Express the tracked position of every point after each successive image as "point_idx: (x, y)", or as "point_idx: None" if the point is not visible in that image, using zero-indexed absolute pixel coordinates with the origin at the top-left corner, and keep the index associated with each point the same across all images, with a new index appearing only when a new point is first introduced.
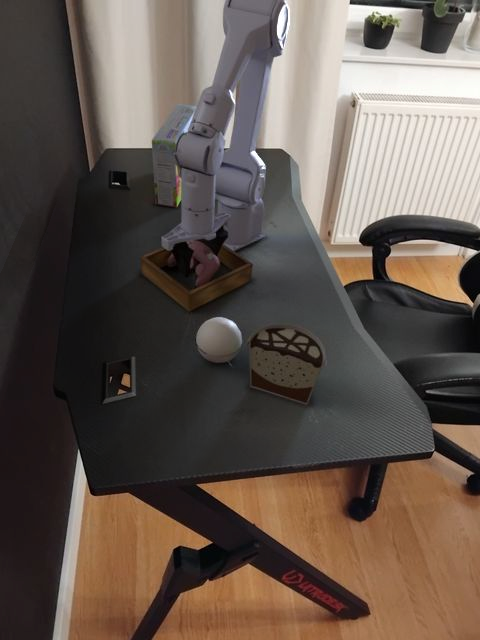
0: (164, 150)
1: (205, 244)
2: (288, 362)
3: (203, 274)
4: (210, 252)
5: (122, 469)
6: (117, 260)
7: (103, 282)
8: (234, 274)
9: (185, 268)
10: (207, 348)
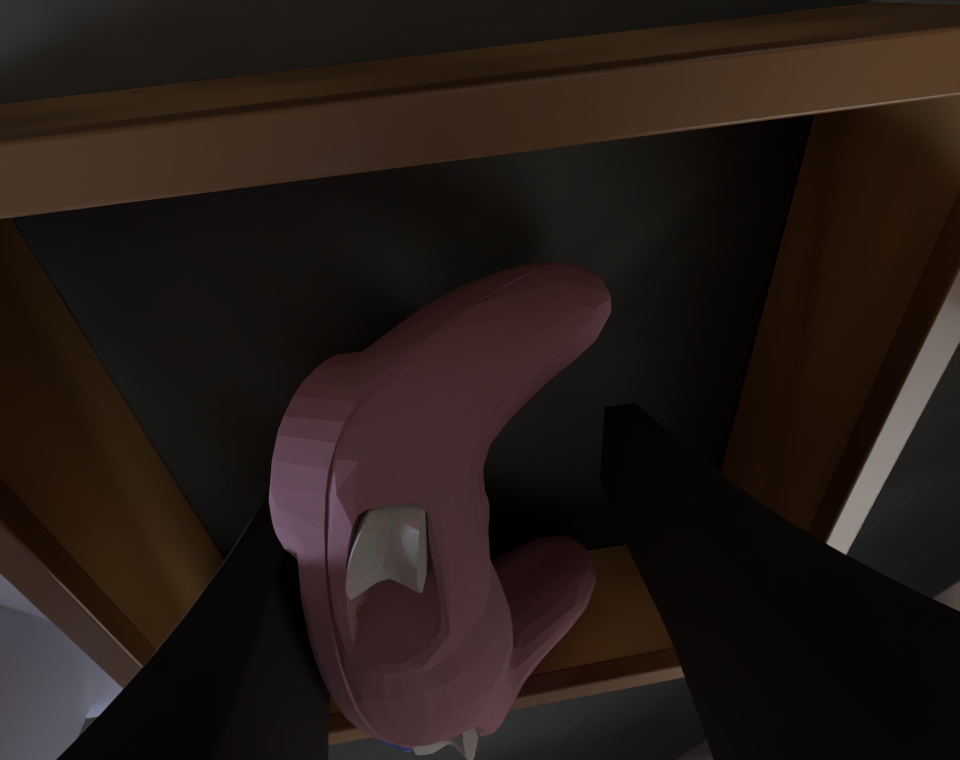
0: None
1: (323, 700)
2: None
3: (548, 349)
4: (350, 604)
5: None
6: None
7: (898, 538)
8: (138, 120)
9: (719, 476)
10: None
